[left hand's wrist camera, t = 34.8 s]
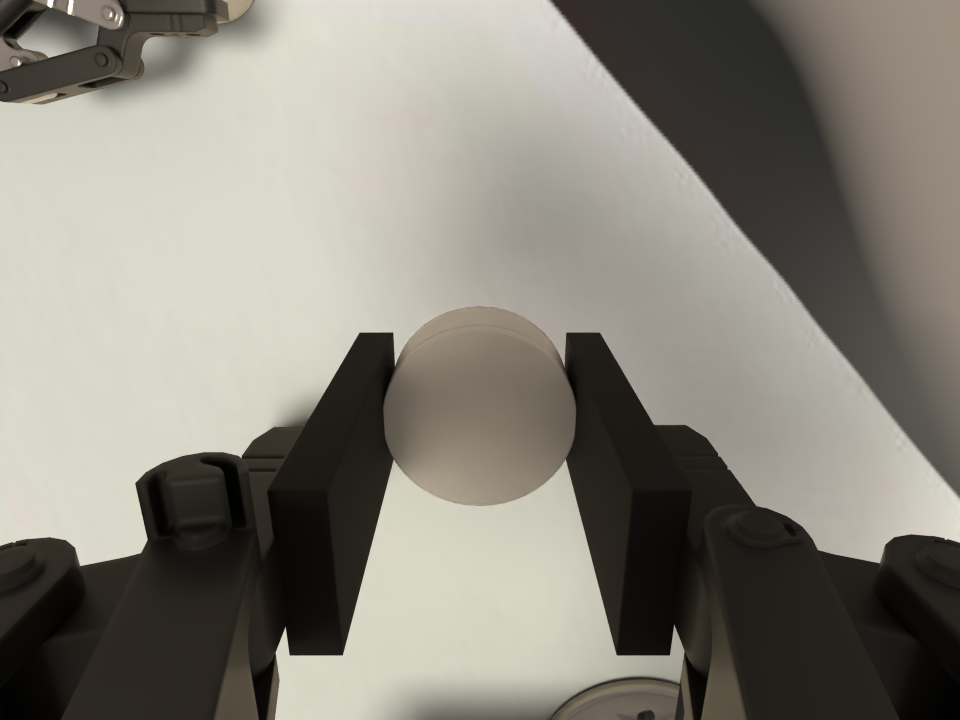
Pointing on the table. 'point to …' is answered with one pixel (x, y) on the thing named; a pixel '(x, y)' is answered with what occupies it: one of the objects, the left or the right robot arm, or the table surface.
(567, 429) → the cap
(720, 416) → the table surface
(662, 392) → the table surface
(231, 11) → the bottle
